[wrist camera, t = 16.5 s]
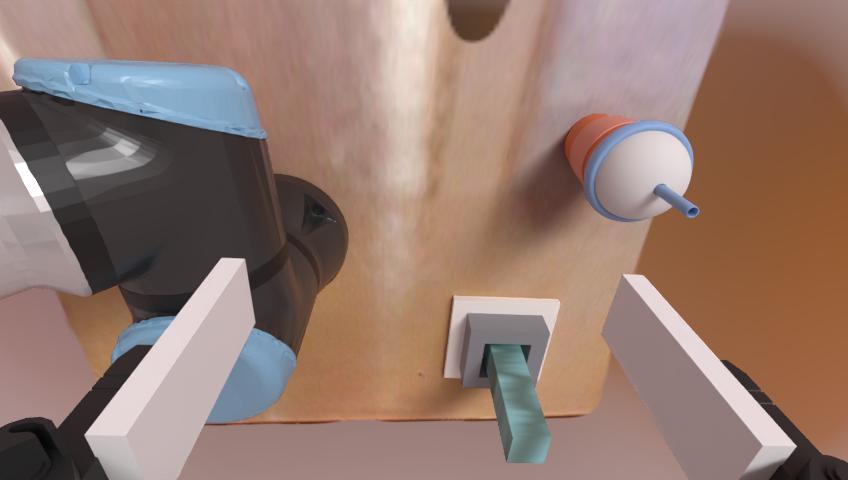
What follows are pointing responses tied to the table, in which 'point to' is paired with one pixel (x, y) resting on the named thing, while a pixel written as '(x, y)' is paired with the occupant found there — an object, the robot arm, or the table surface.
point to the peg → (516, 404)
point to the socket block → (497, 334)
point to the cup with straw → (631, 166)
